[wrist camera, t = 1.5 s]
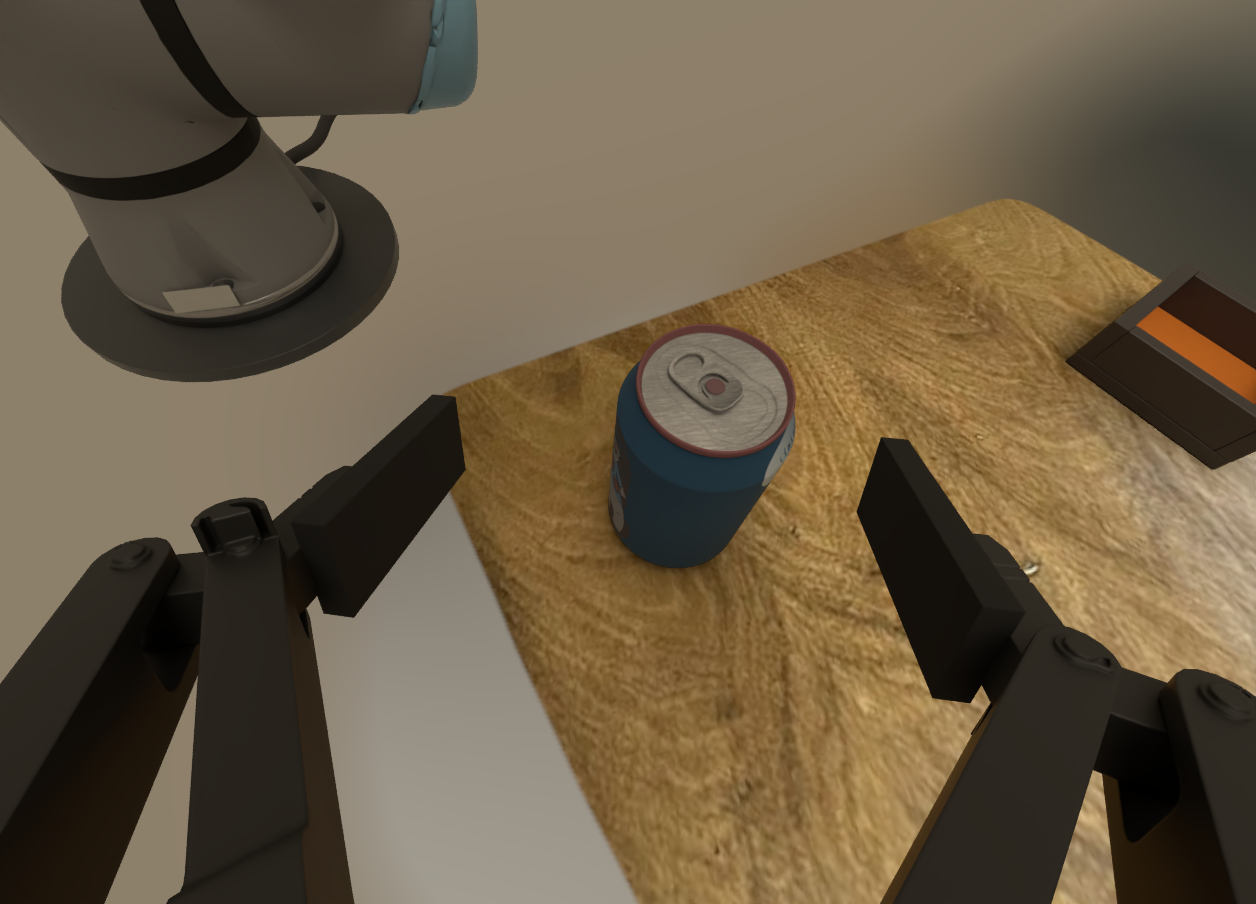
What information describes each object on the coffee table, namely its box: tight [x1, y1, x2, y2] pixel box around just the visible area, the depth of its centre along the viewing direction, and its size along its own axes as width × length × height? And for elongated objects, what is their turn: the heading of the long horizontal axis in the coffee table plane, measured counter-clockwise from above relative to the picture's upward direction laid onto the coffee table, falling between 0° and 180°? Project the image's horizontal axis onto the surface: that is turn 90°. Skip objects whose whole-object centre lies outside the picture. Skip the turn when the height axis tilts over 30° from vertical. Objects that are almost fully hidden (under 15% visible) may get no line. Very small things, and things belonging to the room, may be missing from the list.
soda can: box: [609, 324, 795, 568], centre depth 24 cm, size 7×7×12 cm
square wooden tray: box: [1066, 262, 1256, 469], centre depth 35 cm, size 10×10×4 cm
